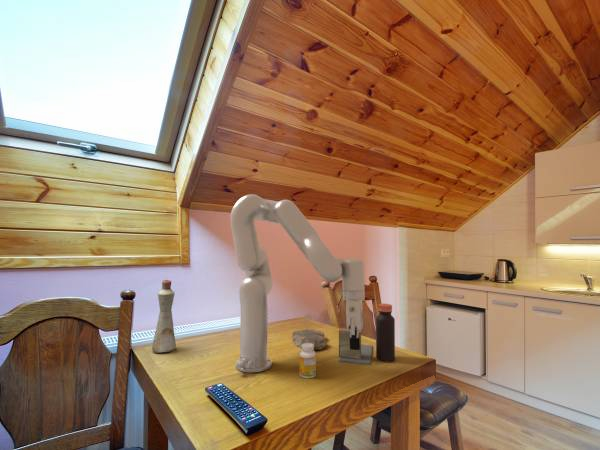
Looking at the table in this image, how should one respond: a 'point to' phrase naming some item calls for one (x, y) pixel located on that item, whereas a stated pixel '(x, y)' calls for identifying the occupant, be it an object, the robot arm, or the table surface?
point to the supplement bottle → (307, 361)
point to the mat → (365, 356)
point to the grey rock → (309, 338)
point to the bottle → (165, 321)
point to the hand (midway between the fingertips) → (354, 348)
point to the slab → (347, 345)
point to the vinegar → (385, 334)
